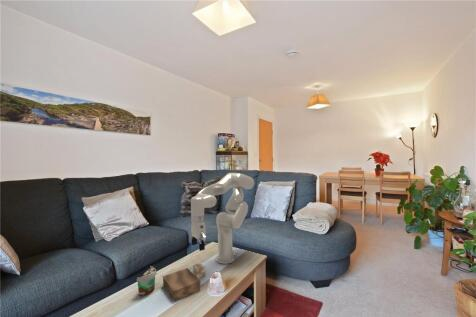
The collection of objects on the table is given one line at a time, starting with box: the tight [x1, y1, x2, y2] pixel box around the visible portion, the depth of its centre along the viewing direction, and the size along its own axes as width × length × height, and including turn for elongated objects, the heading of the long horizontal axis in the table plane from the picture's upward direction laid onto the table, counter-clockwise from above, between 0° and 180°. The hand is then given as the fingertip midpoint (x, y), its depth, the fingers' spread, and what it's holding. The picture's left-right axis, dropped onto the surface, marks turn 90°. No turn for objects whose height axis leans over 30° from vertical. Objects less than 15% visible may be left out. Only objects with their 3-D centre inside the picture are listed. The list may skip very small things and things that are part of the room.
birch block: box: [192, 262, 206, 280], centre depth 132 cm, size 5×5×6 cm
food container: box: [136, 265, 158, 297], centre depth 118 cm, size 12×6×10 cm, turn 168°
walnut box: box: [162, 267, 201, 302], centre depth 120 cm, size 14×16×5 cm
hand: (198, 247), depth 131 cm, fingers open, 9 cm apart
